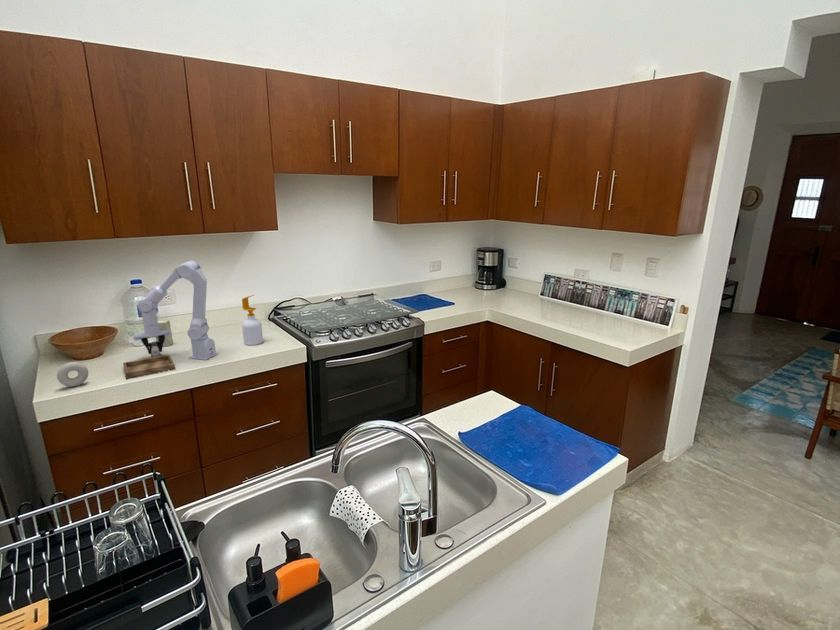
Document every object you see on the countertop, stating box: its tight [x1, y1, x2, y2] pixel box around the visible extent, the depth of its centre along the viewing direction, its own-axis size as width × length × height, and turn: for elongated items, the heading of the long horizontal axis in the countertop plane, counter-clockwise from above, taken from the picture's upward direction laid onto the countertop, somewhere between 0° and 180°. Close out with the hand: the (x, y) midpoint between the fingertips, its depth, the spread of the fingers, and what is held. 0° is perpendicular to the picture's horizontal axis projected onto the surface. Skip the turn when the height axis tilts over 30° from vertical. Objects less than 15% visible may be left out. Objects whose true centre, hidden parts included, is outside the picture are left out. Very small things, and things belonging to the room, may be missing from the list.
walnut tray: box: [122, 354, 176, 380], centre depth 196 cm, size 18×14×2 cm
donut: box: [56, 361, 89, 387], centre depth 178 cm, size 10×4×10 cm, turn 133°
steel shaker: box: [149, 341, 162, 358], centre depth 209 cm, size 4×4×7 cm
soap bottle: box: [241, 294, 264, 346], centre depth 227 cm, size 9×9×25 cm
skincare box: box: [154, 320, 174, 347], centre depth 224 cm, size 6×4×12 cm
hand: (155, 352), depth 209 cm, fingers closed on steel shaker, 4 cm apart
